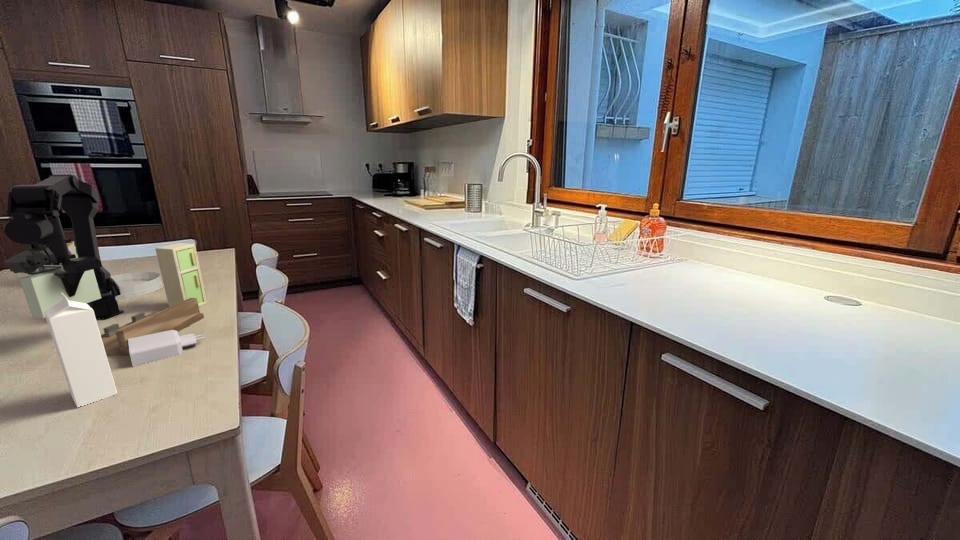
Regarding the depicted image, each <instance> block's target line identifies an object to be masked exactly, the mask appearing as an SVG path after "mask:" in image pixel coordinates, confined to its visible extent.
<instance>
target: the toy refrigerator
mask: <svg viewBox="0 0 960 540" xmlns="http://www.w3.org/2000/svg"><path fill="white" fill-rule="evenodd" d="M155 253H156V256H157V262H158V266H159V270H160V273H161V274H160V276H161V280H162V283H163V288H164V291H165V295H166V300H167V304H168V308H169V307H171V306H173V305H175V304H178V303H180V302H182V301H184V300H187V299H189V298H197V301H198V306H199V308H200V307H203V306H206V305H207V304H208V301H207V296H206V292H205V287H204V281H203V275H202V271H201V266H200V261H199V257H198V252H197V247H196V243H186V242H177V243H172V244H167V245H162V246H158V247H156V248H155Z"/></svg>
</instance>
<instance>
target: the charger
mask: <svg viewBox="0 0 960 540" xmlns="http://www.w3.org/2000/svg"><path fill="white" fill-rule="evenodd" d="M204 339H206V336H205V334H198V335H196V334H195V333H188V334H183V335H179V331H175V330H169V331H164V332H159V333H154V334H149V335H144V336H140V337H135V338H130V339H128V344H129V352H130V355H129V357H130V360H131V364H132V368H135V367H139V366H143V365H145V363H147V364H150V363H149V362H151V363H154V362H153V361H155V362H157V360H159V361H162V360H166V359H169V358H168V357H170V358H173V357H172V356H174V357H177V356H176V355H178V356H180V355H181V353H182V354H183V353H184V350H183V349H184V348H186V347H189V346H190V347H191V346H194V345H197V344H198V342H197V341H199V340H204ZM179 354H180V355H179ZM165 358H166V359H165ZM161 359H162V360H161ZM142 364H143V365H142ZM138 365H139V366H138ZM134 366H135V367H134Z"/></svg>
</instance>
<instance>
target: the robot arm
mask: <svg viewBox="0 0 960 540" xmlns="http://www.w3.org/2000/svg"><path fill="white" fill-rule="evenodd" d="M7 194H8V197H7V198H8V199H7V208H6V209H7V211H6V215H7V217H12V218H13V219H12V220H11V221H8V222H7V223H6V224H5V227H4V235H5V236H6V237H7V238H8V239H9V240H11V241H12V242H14V243H17V244H20V245H21V244H22V245H25V247H26V250H24V251H22V252H19V253H17V254H15V255H13V256H11V257H9V258H8V259H6V260H4V263H5V265H6V266H7V267H8V268H9V271H10V272H12V273H13V274H19V273H20V274H27V275H28V276H31V275H35V274H39V273H43V272H47V271H51V270H56V269H60V268H62V269H61V272H58V273H54V275H56V276H58V277H59V278H61V280H62V282H63V284H64V287H65V289H66V292H67V294H68V295H69V297H72V296H75V294H76V291H77V288H78V285H79V283H80V280H81V278H82V276H83V274H84V272H85V271H88V270H92V269H93V270H94V273H95V277H96V280H97V284H98V287H99V291H100V295H101V298H100V299H98V300H95V301H92V302H89V303H87V304H88V305H89V306H90V307H91V308H92V309H93V311H94V314H95V318H96V320H107V319H110V318H112V317H114V316H117V315H119V314H122V313H124V312H125V310H123V309H121V310H120V307H119V303H118V301H117V300H116V299H115V297H116V296H118V295H121V292H120V289H119V286H118V285H117V283H116V282H115V281H114V280H113V279H112V278H111V276H112V275H111V272H110V271H108V270H107V269H106V268H105V267H104V266H103V264H102V259H101V256H100V250H99V245H98V239H97V234H96V227H95V221H94V217H95V216H96V214H98V213H97V212H98V211H99V209H100V208H99V207H100V206H99V203H100V202H101V198H100V195H99V192H98V191H96V188H94V187H93V186H92V185H91V184H89V183H87V182H85V181H82V180H80V179H79V178H78V177H77V176H76V175H74V174H70V173H69V174H51V175H49V176H48V178H45V179H43V180H42V181H41V180H40V181H39V182H37V183H34V184H20V185H13V186H12V187H11V189H10V190H9V191H8V193H7ZM61 210H62V211H63V212H64V213H65V214H67V216H68V217H69V218H70V220H71V224H72V225H71V226H72V230H73V237H74V243H75V247H76V251H77V254H78V258H76V256H75V254H70V253H69V249H68V246H67V243H72V242H71V241H72V240H71V238H66V237H65V233H64V229H63V227H62V223H61V220H60V217H59V216H60V212H59V211H61ZM74 258H76V259H74ZM110 291H111V292H110Z"/></svg>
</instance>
